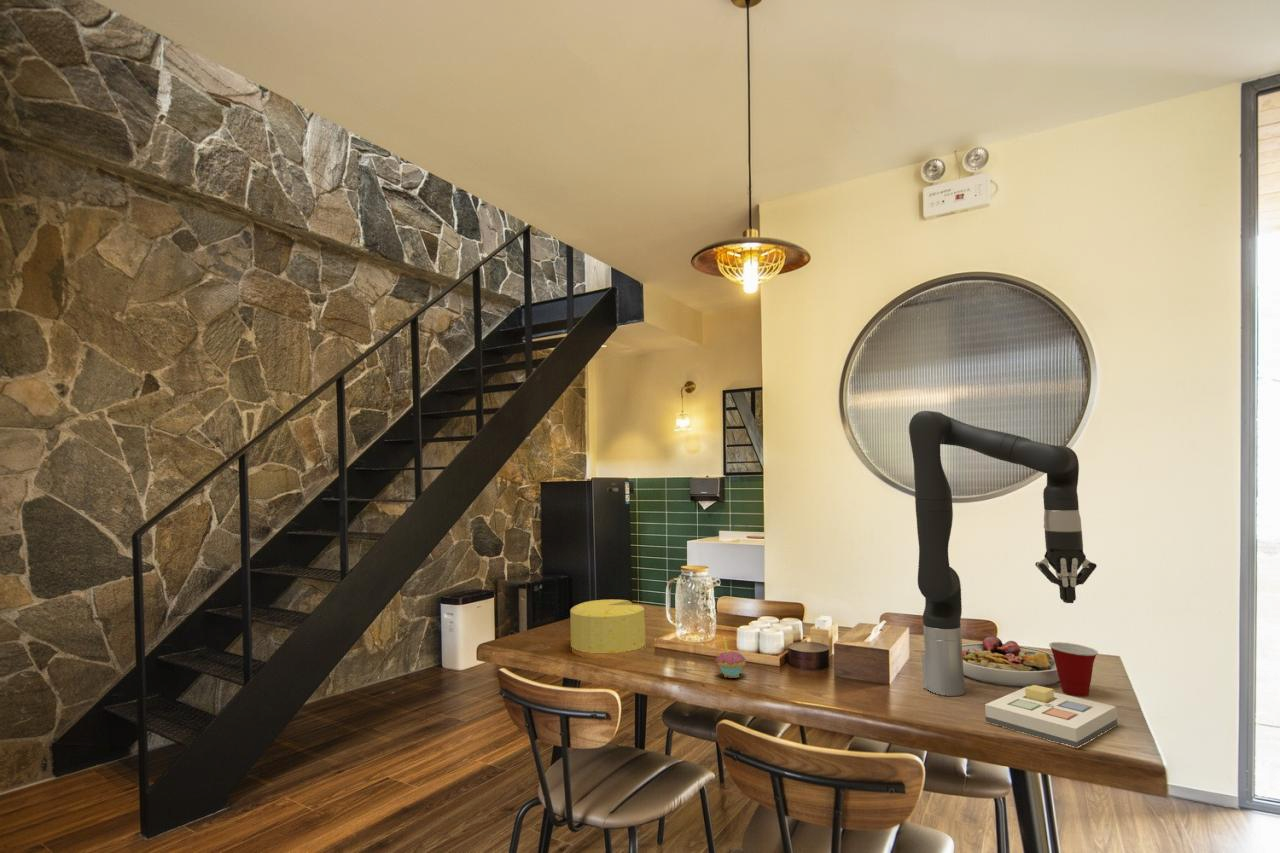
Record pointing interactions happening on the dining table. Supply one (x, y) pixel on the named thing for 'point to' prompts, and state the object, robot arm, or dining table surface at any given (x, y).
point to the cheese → (607, 626)
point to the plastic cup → (1074, 667)
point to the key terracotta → (1061, 714)
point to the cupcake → (730, 661)
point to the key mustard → (1039, 693)
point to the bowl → (1008, 664)
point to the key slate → (1075, 706)
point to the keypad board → (1052, 718)
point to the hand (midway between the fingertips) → (1068, 602)
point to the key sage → (1025, 705)
